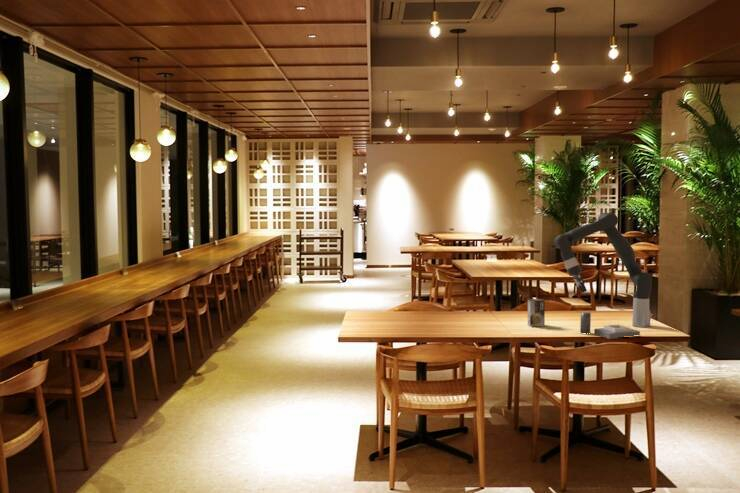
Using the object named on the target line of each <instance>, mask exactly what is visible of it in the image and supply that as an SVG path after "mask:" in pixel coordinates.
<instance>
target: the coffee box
mask: <svg viewBox="0 0 740 493" xmlns="http://www.w3.org/2000/svg"><path fill="white" fill-rule="evenodd" d="M545 305H546V303H545V299H543V298H532V299H531V298H528V299H527V326H529V327H530V326H541V327H545V326H546V325H545V323H546V322H545V315H546V314H545V312H546V310H545V307H546V306H545Z"/></svg>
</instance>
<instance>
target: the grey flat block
mask: <svg viewBox="0 0 740 493" xmlns="http://www.w3.org/2000/svg"><path fill="white" fill-rule="evenodd" d="M593 333H595V334H594V335H596V334H598V335H597V336H599V335H601V336H600V337H602V336H603V337H602V338H605V337H606V338H605V339H608V340H615V339H619V338H618V337H624V336H634V335H640V336H641V331H640V330H637V329H633V328H631V327H629V326H626V325H621V324H619V323H618V324H607V325H603V327H599V328H594V332H593Z"/></svg>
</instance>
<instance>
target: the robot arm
mask: <svg viewBox="0 0 740 493" xmlns="http://www.w3.org/2000/svg"><path fill="white" fill-rule="evenodd" d="M618 223H619V217H618V216H617V215H616V214H615V213H612V212H602V213H600V214H599V215H598V218H597V220H596V221H594V222H591V223H587V224H583V225H581V226H577V227H575V228H573V229H571V230H569V231H568V232H566V233H564V234H562V233H561V234H559V235H557V236H556V237H555V238H554V240H553V245H554V246H555V247H556V248H558V249H559V250H560V257H561V259H562V261H563V263H564V266H565V269H566V271H567V273H568V275H569V277H572V276H573V281H574V283H575V284H576V287H578V289H579V291H580V293H581V294H582V293H586V292H587V287H586V285H585V284H586V283H585V281H584V279H583V276H582V274H581V272H582V269H581V266H580V264H579V261H578V259H577V258H576V256H575V254H574V251H573V250H572V246H571V243H573V242H577V241H580V240H581V239H585V238H586V237H588V236H590V235H593V234H596V233H598V232H601V231H603V232H604V233H605V235H606V237H607V239H608V240H609V241H610V244H611V245H612V247H613V249H614V251H615V252H616V254H617V256H618V258H619V259H620V261H621V263H622V264H623V266H624V268H626V271H627V273H628V275H629V278H630V280H631V281H632V283H633V285H635V286H636V290H635V292H633V294H632V295H633V296H632V298H633V300H632V327H636V328H648V327H651V310H650V297H651V293H652V289H653V288H652V286H653V285H652V284H653V280H652V276H651V274H650V273H648V272H645V271H643V270H642V269H641V267H640V266H639V264H638V262H637V259H636V254H635V250H634V248H633V246H632V245H631V243H630V242H629V241H628V239H627V238H626V237H625V236H624V235H623V234H622V233H621V232H620V231H619V229H618V228H617V227H616V226H617V225H618Z"/></svg>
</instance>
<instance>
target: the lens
mask: <svg viewBox="0 0 740 493" xmlns="http://www.w3.org/2000/svg"><path fill="white" fill-rule="evenodd" d="M591 315H592V313H591V312H590V311H589V312H588V311H582V312H580V332H581V333H586V334H585V335H588V334H587V333H590V334H591V318H592V317H591ZM580 332H579V333H580ZM581 333H580V334H581Z"/></svg>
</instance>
